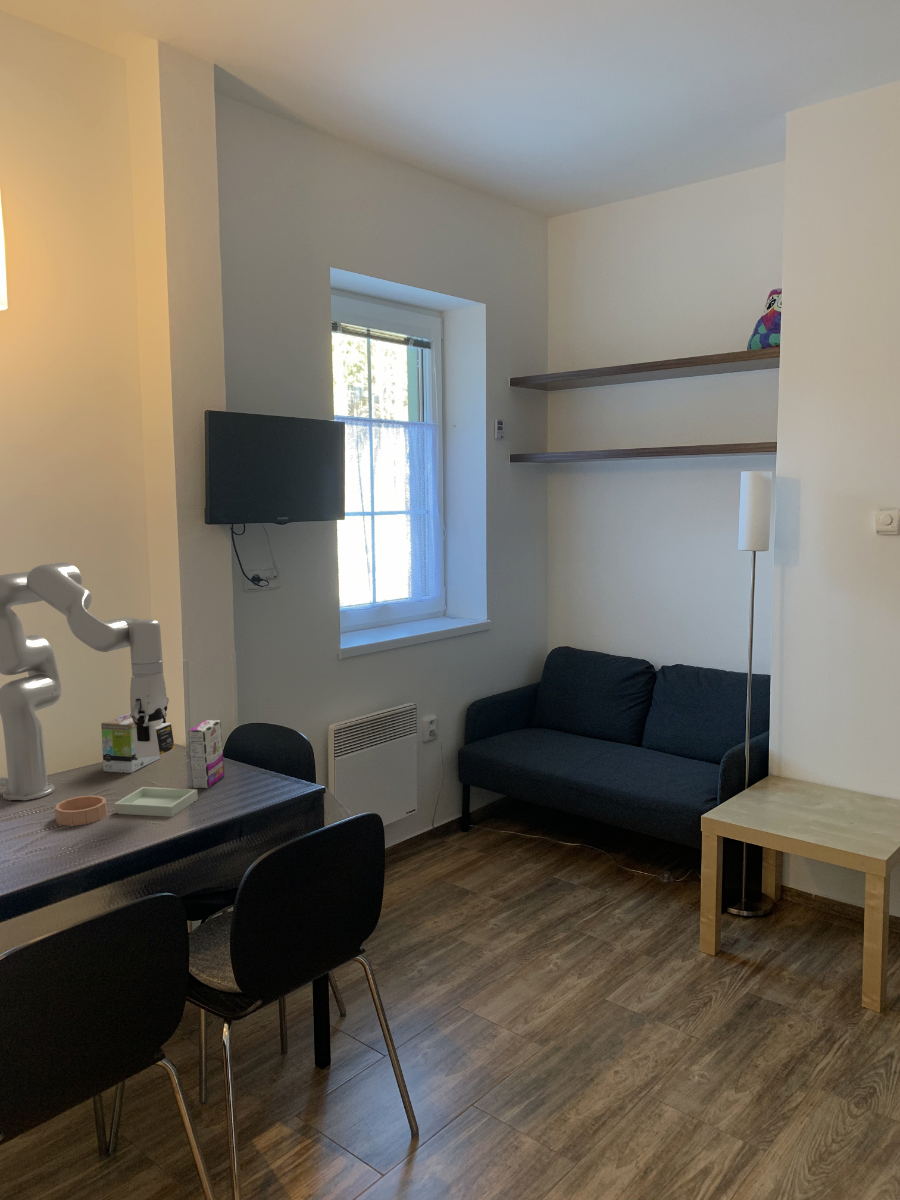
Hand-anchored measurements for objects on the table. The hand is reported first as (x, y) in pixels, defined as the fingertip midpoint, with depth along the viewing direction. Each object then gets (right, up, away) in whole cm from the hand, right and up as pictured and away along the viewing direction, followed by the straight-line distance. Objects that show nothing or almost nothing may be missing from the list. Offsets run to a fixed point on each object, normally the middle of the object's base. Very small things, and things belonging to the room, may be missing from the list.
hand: (152, 736), depth 231 cm
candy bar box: (+9, -16, +21) cm, 28 cm away
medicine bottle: (+1, -5, 0) cm, 5 cm away
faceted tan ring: (-16, -20, -4) cm, 26 cm away
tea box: (-19, -15, +39) cm, 46 cm away
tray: (+1, -18, +2) cm, 18 cm away
